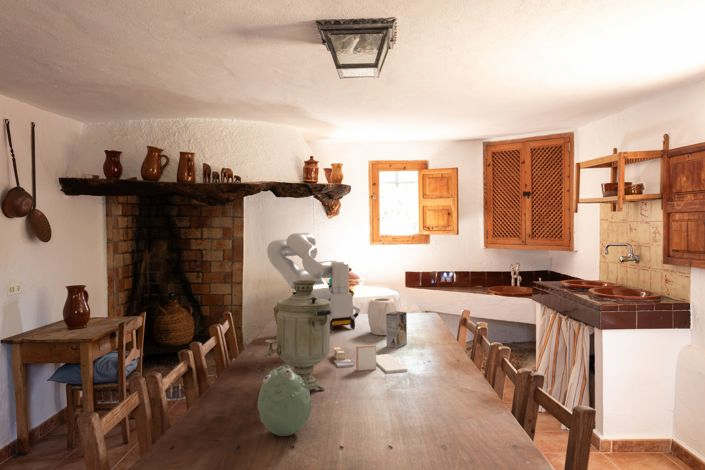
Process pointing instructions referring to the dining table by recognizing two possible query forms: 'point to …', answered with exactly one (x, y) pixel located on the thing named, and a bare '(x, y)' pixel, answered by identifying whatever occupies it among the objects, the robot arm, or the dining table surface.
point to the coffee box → (396, 329)
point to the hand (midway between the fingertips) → (341, 329)
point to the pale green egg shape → (284, 401)
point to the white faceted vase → (379, 314)
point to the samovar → (302, 331)
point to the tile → (365, 357)
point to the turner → (341, 358)
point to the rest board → (389, 364)
